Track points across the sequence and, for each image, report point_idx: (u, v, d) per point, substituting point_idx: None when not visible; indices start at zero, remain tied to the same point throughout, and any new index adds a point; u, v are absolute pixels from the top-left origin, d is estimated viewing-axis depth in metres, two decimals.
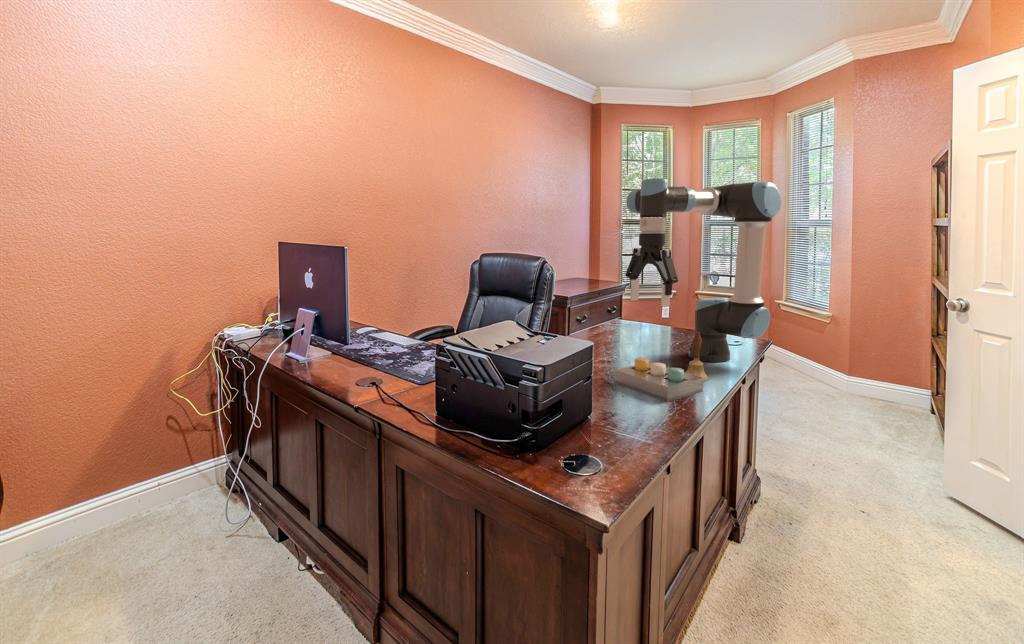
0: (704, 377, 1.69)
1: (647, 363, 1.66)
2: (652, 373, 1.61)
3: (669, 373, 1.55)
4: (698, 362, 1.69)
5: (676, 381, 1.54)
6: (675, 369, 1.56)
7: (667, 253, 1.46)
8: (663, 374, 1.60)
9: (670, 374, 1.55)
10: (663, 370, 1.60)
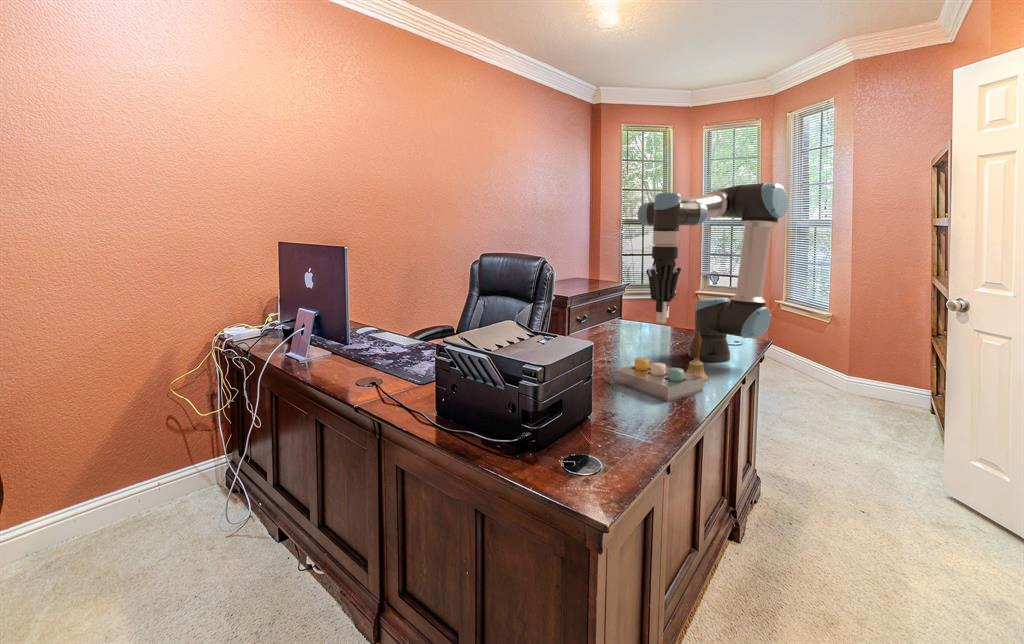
0: (704, 377, 1.69)
1: (647, 363, 1.66)
2: (652, 373, 1.61)
3: (669, 373, 1.55)
4: (698, 362, 1.69)
5: (676, 381, 1.54)
6: (675, 369, 1.56)
7: (649, 274, 1.52)
8: (663, 374, 1.60)
9: (670, 374, 1.55)
10: (663, 370, 1.60)
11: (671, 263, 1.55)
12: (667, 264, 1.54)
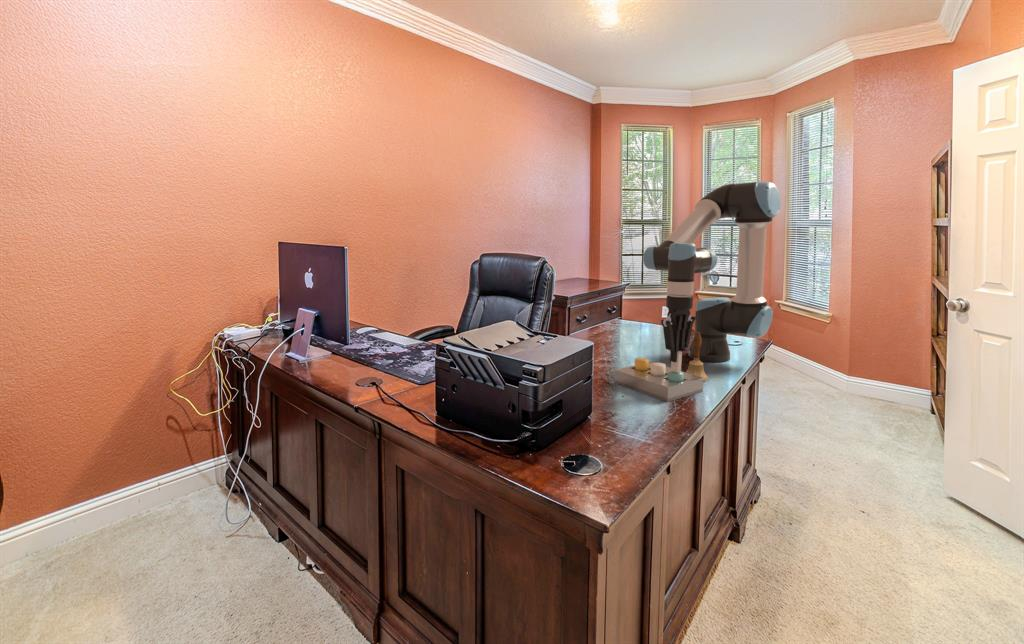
0: (704, 377, 1.69)
1: (647, 363, 1.66)
2: (652, 373, 1.61)
3: (669, 375, 1.55)
4: (698, 362, 1.69)
5: None
6: None
7: (664, 324, 1.50)
8: (663, 374, 1.60)
9: (670, 376, 1.55)
10: (663, 370, 1.60)
11: (686, 312, 1.52)
12: (682, 314, 1.51)
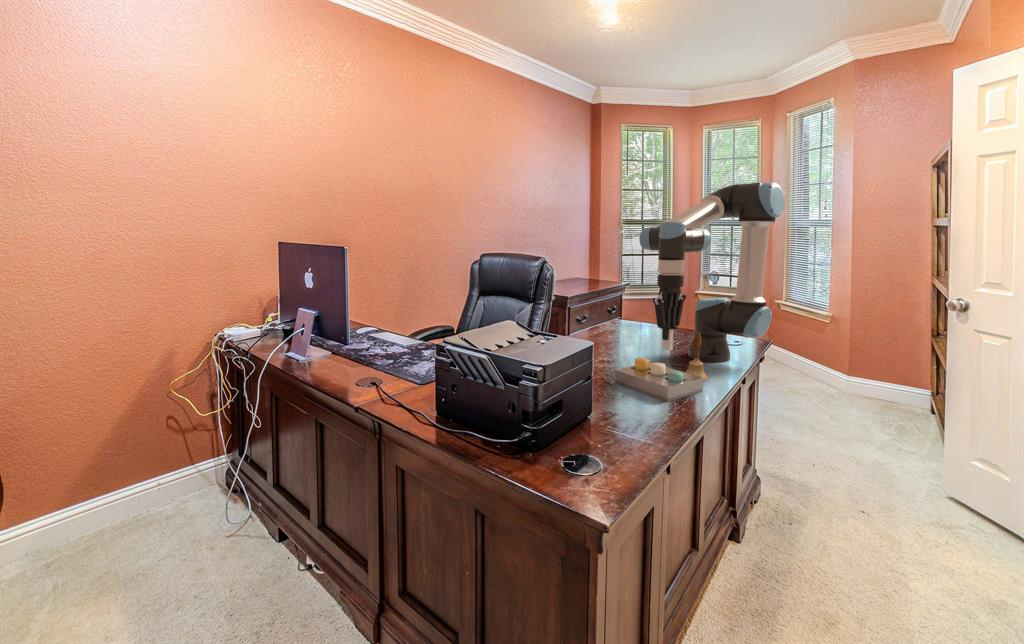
0: (704, 377, 1.69)
1: (647, 363, 1.66)
2: (652, 373, 1.61)
3: (669, 376, 1.55)
4: (698, 362, 1.69)
5: None
6: (675, 372, 1.56)
7: (656, 302, 1.52)
8: (663, 374, 1.60)
9: (670, 377, 1.55)
10: (663, 370, 1.60)
11: (677, 291, 1.54)
12: (673, 292, 1.53)
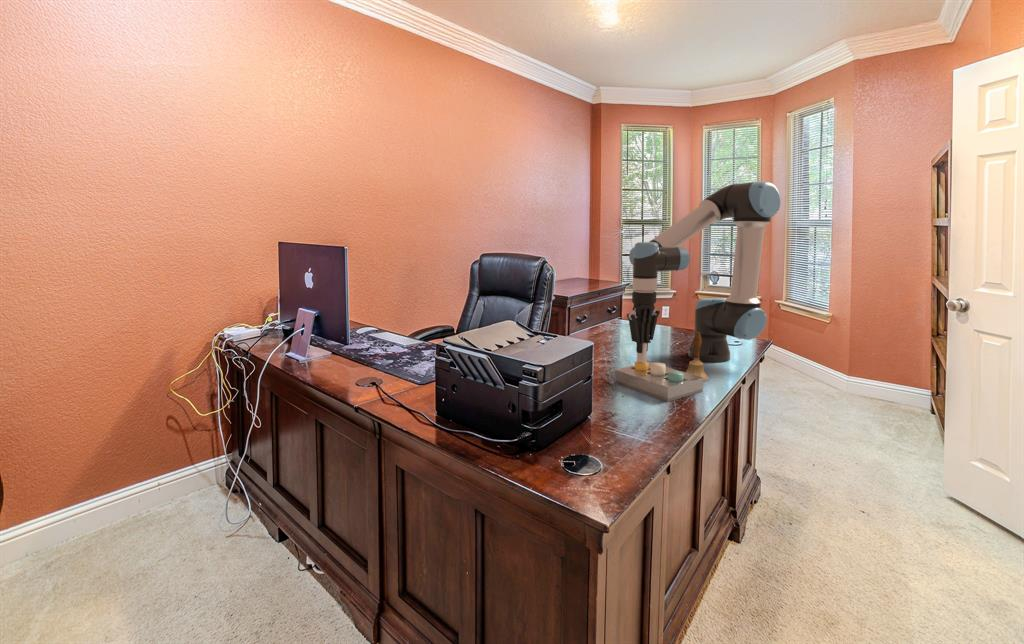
0: (704, 377, 1.69)
1: (647, 366, 1.66)
2: (652, 373, 1.61)
3: (669, 376, 1.55)
4: (698, 362, 1.69)
5: None
6: (675, 372, 1.56)
7: (629, 318, 1.61)
8: (663, 374, 1.60)
9: (670, 377, 1.55)
10: (663, 370, 1.60)
11: (650, 307, 1.64)
12: (646, 308, 1.63)
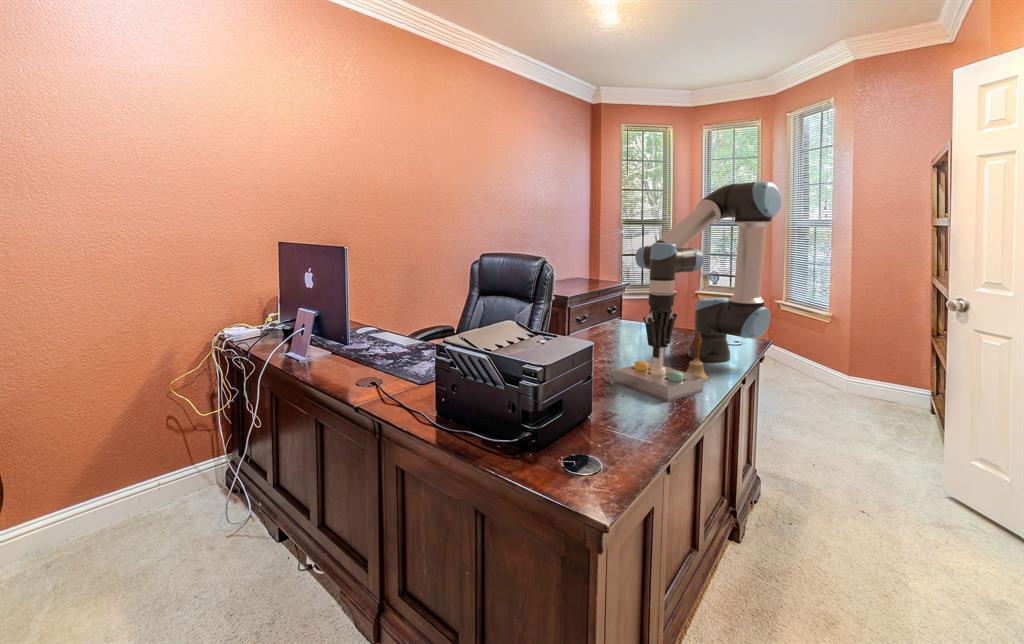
0: (704, 377, 1.69)
1: (647, 366, 1.66)
2: None
3: (669, 376, 1.55)
4: (698, 362, 1.69)
5: None
6: (675, 372, 1.56)
7: (646, 321, 1.56)
8: None
9: (670, 377, 1.55)
10: (663, 373, 1.60)
11: (667, 310, 1.58)
12: (663, 311, 1.57)
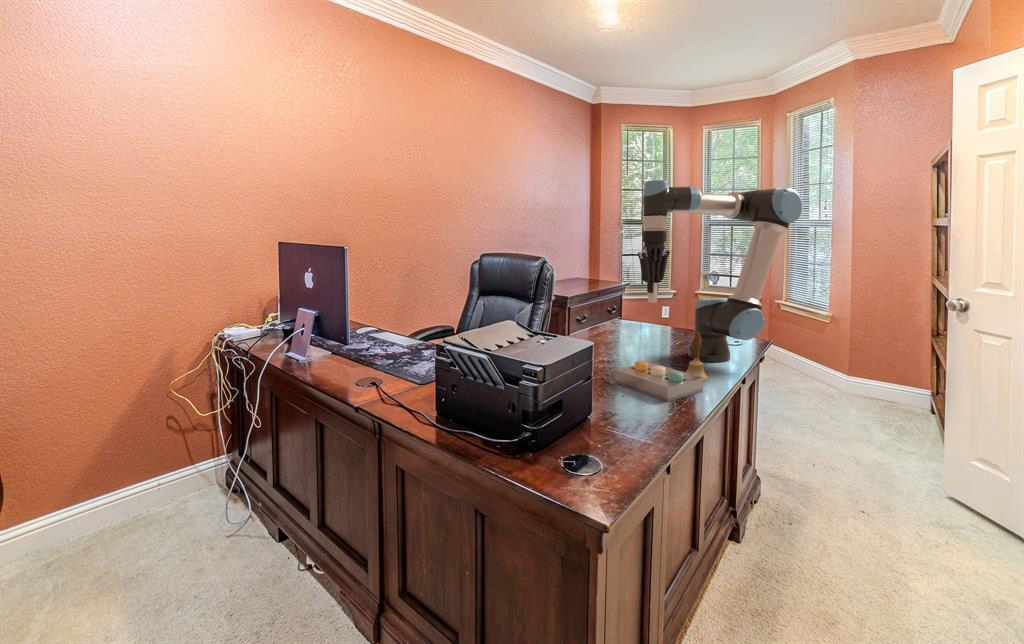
0: (704, 377, 1.69)
1: (647, 366, 1.66)
2: None
3: (669, 376, 1.55)
4: (698, 362, 1.69)
5: None
6: (675, 372, 1.56)
7: (640, 256, 1.62)
8: None
9: (670, 377, 1.55)
10: (663, 373, 1.60)
11: (660, 246, 1.65)
12: (657, 247, 1.64)
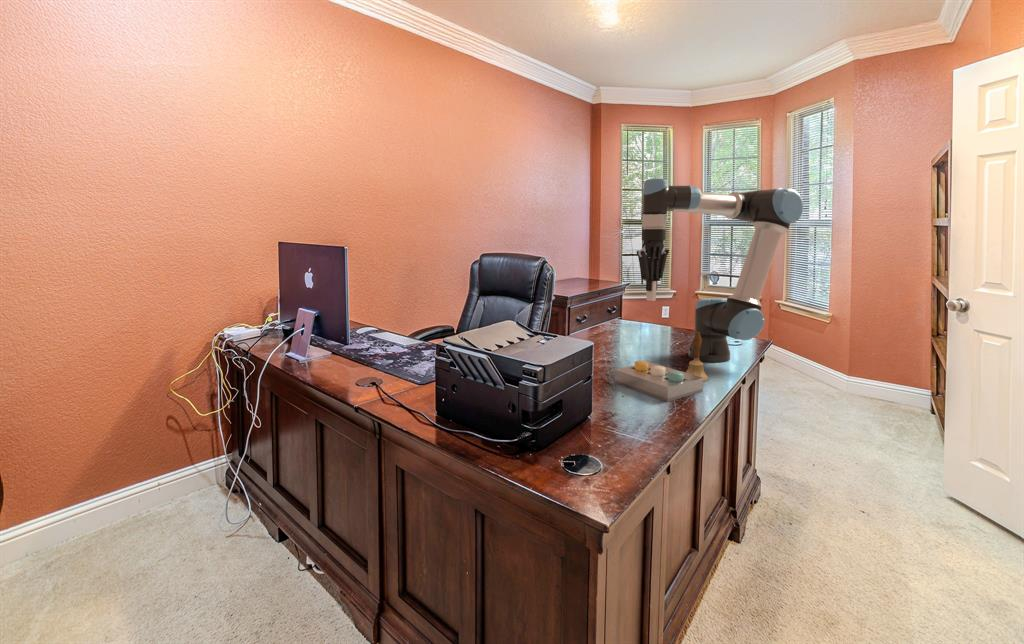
0: (704, 377, 1.69)
1: (647, 366, 1.66)
2: None
3: (669, 376, 1.55)
4: (698, 362, 1.69)
5: None
6: (675, 372, 1.56)
7: (639, 254, 1.63)
8: None
9: (670, 377, 1.55)
10: (663, 373, 1.60)
11: (659, 245, 1.65)
12: (656, 246, 1.64)
